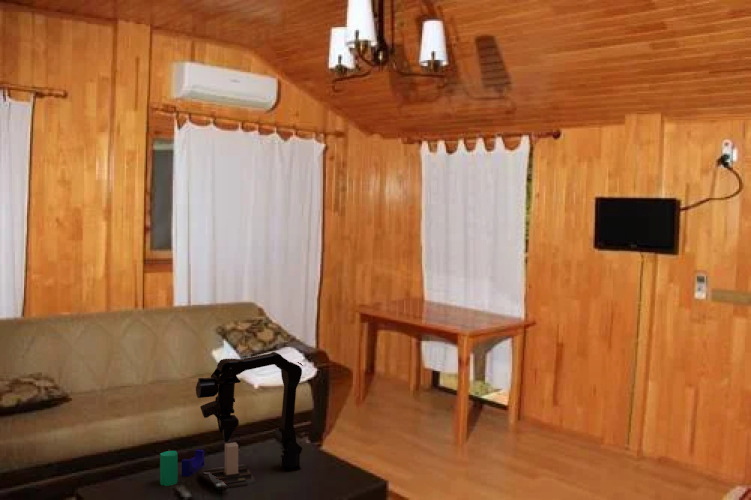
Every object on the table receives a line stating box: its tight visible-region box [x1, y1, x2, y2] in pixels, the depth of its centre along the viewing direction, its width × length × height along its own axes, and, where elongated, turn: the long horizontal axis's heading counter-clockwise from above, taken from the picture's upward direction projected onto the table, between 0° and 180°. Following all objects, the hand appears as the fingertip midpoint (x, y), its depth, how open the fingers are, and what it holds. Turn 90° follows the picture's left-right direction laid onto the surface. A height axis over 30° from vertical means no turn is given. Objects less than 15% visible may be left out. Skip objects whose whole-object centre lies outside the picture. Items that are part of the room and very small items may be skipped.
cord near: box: [228, 482, 249, 488], centre depth 235 cm, size 7×1×1 cm, turn 114°
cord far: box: [201, 463, 249, 473], centre depth 249 cm, size 17×3×1 cm, turn 114°
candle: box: [159, 450, 179, 487], centre depth 237 cm, size 6×6×12 cm
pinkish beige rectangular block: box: [223, 442, 240, 477], centre depth 241 cm, size 5×4×11 cm
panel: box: [210, 467, 255, 487], centre depth 241 cm, size 14×12×2 cm
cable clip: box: [181, 449, 205, 478], centre depth 249 cm, size 12×4×6 cm, turn 168°
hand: (223, 437), depth 241 cm, fingers open, 9 cm apart
